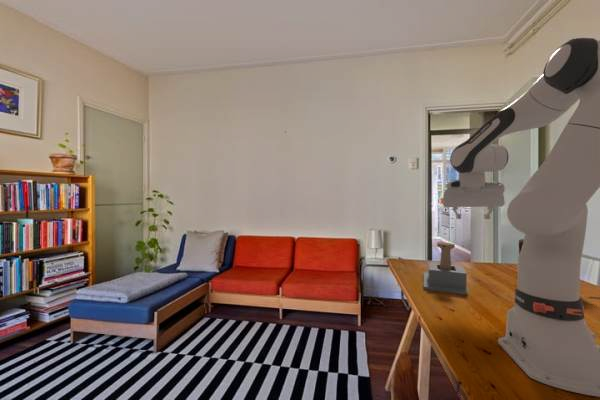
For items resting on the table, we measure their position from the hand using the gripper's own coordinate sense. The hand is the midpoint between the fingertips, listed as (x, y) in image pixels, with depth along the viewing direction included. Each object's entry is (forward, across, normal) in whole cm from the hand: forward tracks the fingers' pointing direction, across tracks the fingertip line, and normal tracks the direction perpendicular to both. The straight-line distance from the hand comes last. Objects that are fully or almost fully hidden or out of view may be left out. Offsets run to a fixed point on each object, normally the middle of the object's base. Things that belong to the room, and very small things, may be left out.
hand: (472, 218), depth 108 cm
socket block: (+28, +10, -7) cm, 30 cm away
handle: (+26, +9, -6) cm, 28 cm away
